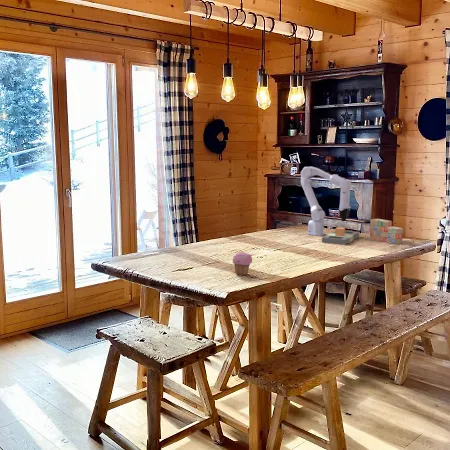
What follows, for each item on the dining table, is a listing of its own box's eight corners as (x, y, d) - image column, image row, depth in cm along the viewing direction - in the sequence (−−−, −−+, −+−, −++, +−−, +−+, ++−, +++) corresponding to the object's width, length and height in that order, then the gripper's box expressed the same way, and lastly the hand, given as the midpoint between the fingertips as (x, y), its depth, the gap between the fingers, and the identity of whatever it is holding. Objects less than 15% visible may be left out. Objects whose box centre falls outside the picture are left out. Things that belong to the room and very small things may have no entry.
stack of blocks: (402, 243, 320) (403, 223, 318) (394, 244, 317) (396, 223, 315) (376, 237, 338) (377, 218, 336) (369, 238, 335) (370, 218, 334)
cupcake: (235, 271, 245) (235, 249, 244) (253, 272, 243) (254, 251, 241) (229, 275, 237) (230, 253, 235) (249, 277, 235) (249, 254, 233)
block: (335, 235, 325) (335, 228, 324) (337, 234, 329) (337, 227, 328) (342, 236, 323) (342, 228, 322) (344, 235, 327) (345, 227, 326)
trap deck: (321, 242, 319) (322, 237, 318) (337, 234, 346) (337, 230, 345) (345, 244, 312) (345, 239, 312) (359, 236, 339) (359, 232, 339)
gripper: (347, 200, 325) (346, 222, 327) (354, 198, 338) (353, 220, 340) (336, 199, 329) (335, 221, 331) (343, 197, 341) (342, 219, 343)
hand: (343, 220), depth 336 cm, fingers closed
